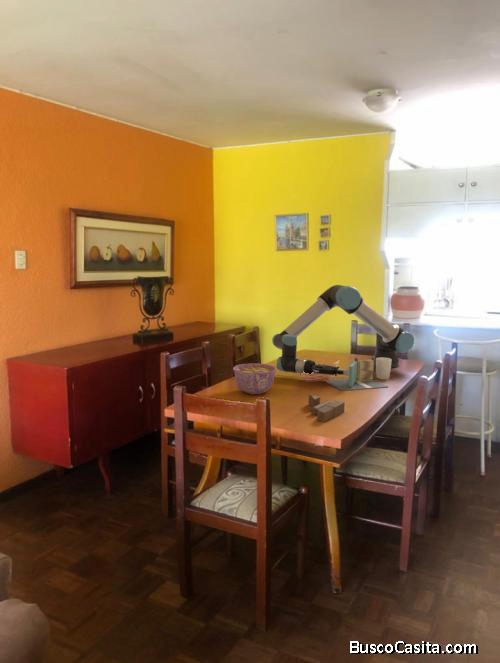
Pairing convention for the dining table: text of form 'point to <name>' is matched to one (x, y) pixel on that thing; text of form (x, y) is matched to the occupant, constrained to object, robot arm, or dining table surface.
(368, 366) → the tan brown patterned panel
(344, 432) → the dining table surface
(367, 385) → the mat
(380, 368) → the white cup
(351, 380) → the teal rectangular panel
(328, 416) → the wooden block set
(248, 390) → the bowl of food
